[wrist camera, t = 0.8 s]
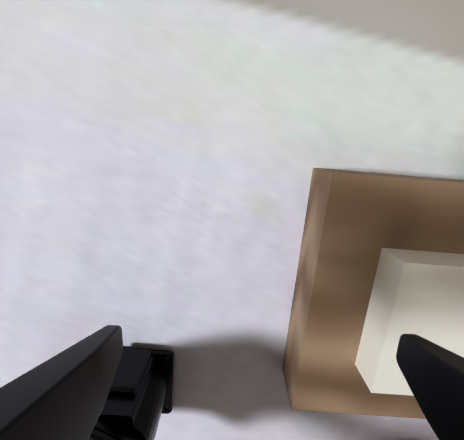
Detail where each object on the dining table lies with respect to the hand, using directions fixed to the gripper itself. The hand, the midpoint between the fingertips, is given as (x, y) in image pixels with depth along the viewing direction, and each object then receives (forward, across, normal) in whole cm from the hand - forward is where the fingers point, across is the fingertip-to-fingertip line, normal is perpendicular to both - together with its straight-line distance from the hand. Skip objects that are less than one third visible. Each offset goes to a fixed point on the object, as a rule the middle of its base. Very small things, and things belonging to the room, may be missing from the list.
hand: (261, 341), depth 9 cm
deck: (+13, -12, +4) cm, 18 cm away
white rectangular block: (+8, -12, +4) cm, 15 cm away
